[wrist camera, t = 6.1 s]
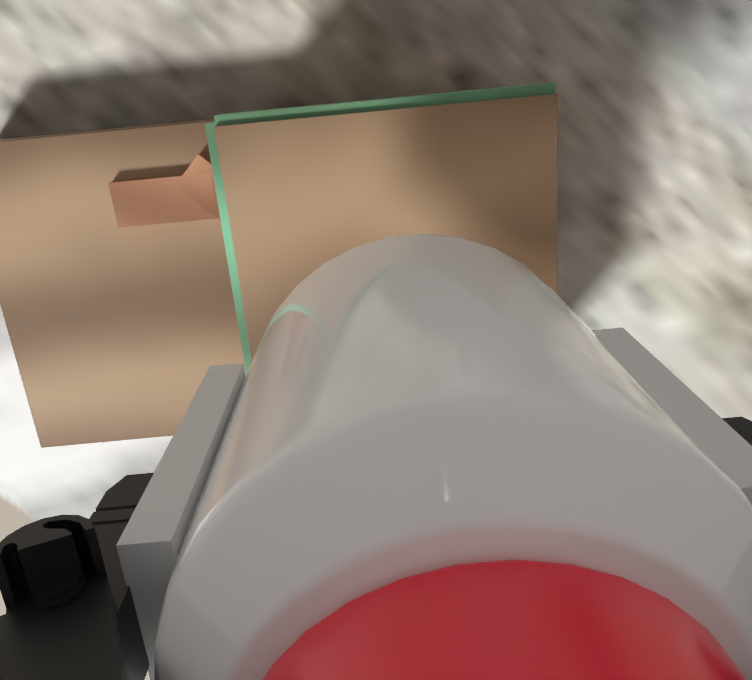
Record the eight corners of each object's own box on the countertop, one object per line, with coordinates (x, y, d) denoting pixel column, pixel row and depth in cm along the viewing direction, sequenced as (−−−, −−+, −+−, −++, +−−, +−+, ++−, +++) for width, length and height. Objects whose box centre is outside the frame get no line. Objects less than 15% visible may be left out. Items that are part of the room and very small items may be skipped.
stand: (-6, 131, 28) (-131, 148, 21) (505, 82, 27) (557, 83, 20) (69, 417, 32) (-12, 512, 25) (513, 376, 32) (557, 459, 25)
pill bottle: (292, 564, 18) (203, 1229, 7) (212, 269, 15) (-98, 664, 5) (599, 510, 18) (949, 1126, 7) (570, 201, 15) (1056, 467, 5)
